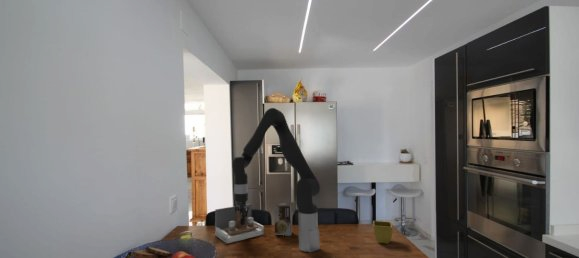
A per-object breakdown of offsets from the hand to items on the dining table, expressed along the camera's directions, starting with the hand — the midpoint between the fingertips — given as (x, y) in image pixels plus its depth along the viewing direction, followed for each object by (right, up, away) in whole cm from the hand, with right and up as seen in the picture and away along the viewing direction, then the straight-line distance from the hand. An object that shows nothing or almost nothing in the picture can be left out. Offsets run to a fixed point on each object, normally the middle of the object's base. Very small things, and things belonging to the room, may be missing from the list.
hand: (241, 223), depth 142 cm
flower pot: (+74, -5, -12) cm, 75 cm away
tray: (0, -3, 0) cm, 3 cm away
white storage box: (-1, -7, +1) cm, 7 cm away
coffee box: (+23, -7, +2) cm, 24 cm away
